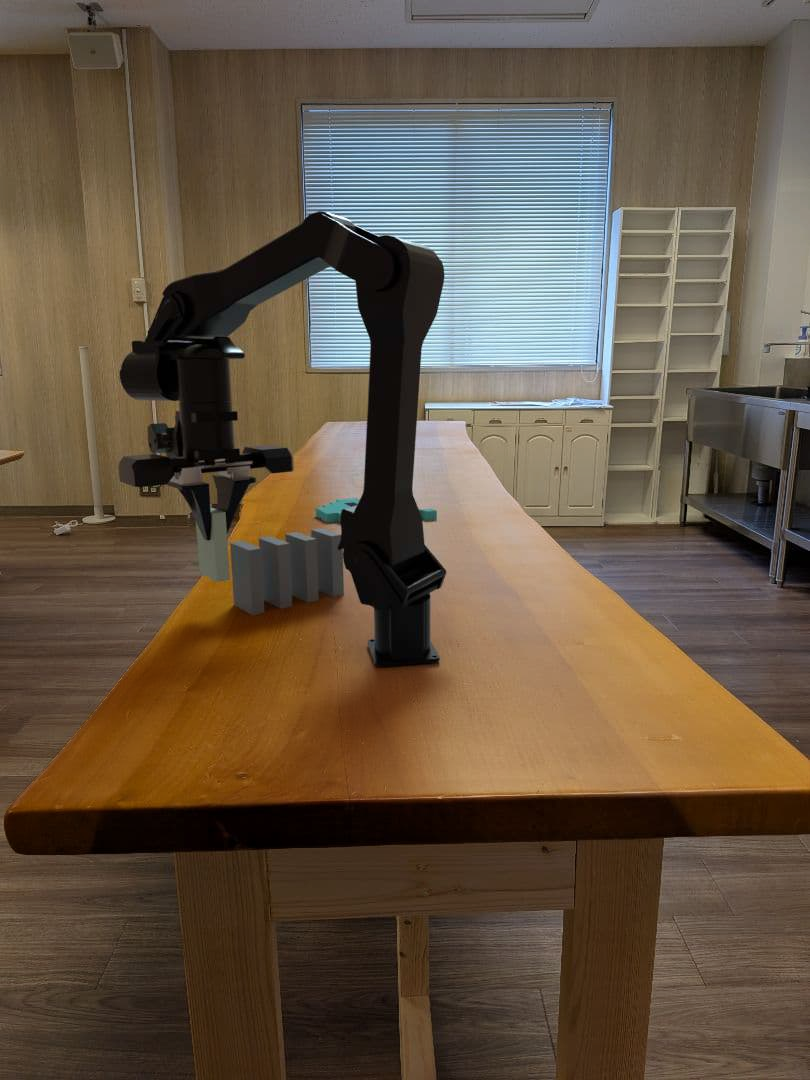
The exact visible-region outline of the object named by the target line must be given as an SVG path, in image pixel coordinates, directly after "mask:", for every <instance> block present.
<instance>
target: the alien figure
mask: <svg viewBox="0 0 810 1080" xmlns="http://www.w3.org/2000/svg"><path fill="white" fill-rule="evenodd" d="M359 500H360V498H358V497H355V498H354V497H352V498H342V499H336V500H335V501H331V502H329V504H322V507H315V517H316V516H317V517H316V518H318V517H319V518H321V519H322V521H323V520H324V521H323V522H325V521H326V522H331V523H339V522H340V516H341V511H342V510H343V509H345V508H349V507H352V506H355V505H357V504H358V502H359ZM418 509H419V511H420V514H421V516H422V520H423V519H424V520H423V521H426V522H427V521H435V520H436V519H437V518H438V517H437V516H438V515H437V510H436V509H433V508H426V509H421V508H418ZM319 518H318V519H319ZM321 519H320V520H321ZM436 521H437V520H436ZM326 522H325V523H326ZM339 524H341V522H340V523H339Z"/></svg>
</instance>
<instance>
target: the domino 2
mask: <svg viewBox="0 0 810 1080" xmlns="http://www.w3.org/2000/svg"><path fill="white" fill-rule="evenodd" d="M258 547H259V548H261V555H262V574H263V593H264V602H266V603H268V604H271V605H272V606H274V607H277V608H278V609H280V610H283V609H287V608H291V607H293V596H292V586H291V562H290V543H287V542H286V541H284V540H282V539H278V538H276V537H273V536H271V535H270V536H265V537H264V536H263V537H258Z"/></svg>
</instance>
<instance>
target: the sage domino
mask: <svg viewBox="0 0 810 1080" xmlns="http://www.w3.org/2000/svg"><path fill="white" fill-rule="evenodd" d="M210 510H211V538H210V540H208V541H207V540H205V539H204V538H203V536H202V534H201V531H200V529H199V527H198V525H197V522H196V521H195V530H196V539H197V540H196V542H197V554H198V566H199V567H198V568H199V574H201V575H202V576H204V577H206V578H209V579H210V580H212V581H214V582H216V583H220V582H225V581H230V580H231V574H230V561H229V560H230V558H229V547H228V546H229V544H228V534H227V528H226V513H225V512H223V511H220V510H217V508H214V507H211V506H210Z"/></svg>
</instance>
